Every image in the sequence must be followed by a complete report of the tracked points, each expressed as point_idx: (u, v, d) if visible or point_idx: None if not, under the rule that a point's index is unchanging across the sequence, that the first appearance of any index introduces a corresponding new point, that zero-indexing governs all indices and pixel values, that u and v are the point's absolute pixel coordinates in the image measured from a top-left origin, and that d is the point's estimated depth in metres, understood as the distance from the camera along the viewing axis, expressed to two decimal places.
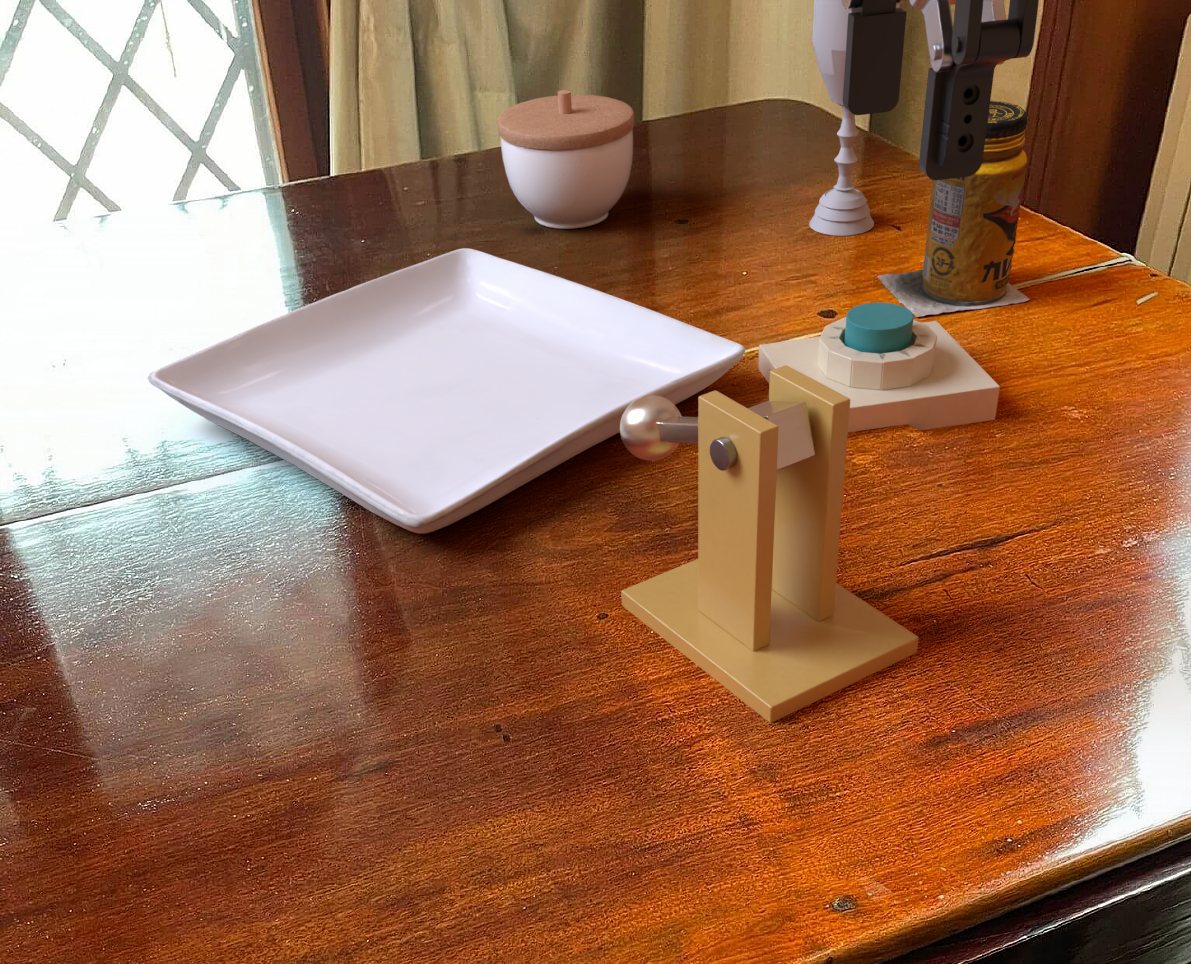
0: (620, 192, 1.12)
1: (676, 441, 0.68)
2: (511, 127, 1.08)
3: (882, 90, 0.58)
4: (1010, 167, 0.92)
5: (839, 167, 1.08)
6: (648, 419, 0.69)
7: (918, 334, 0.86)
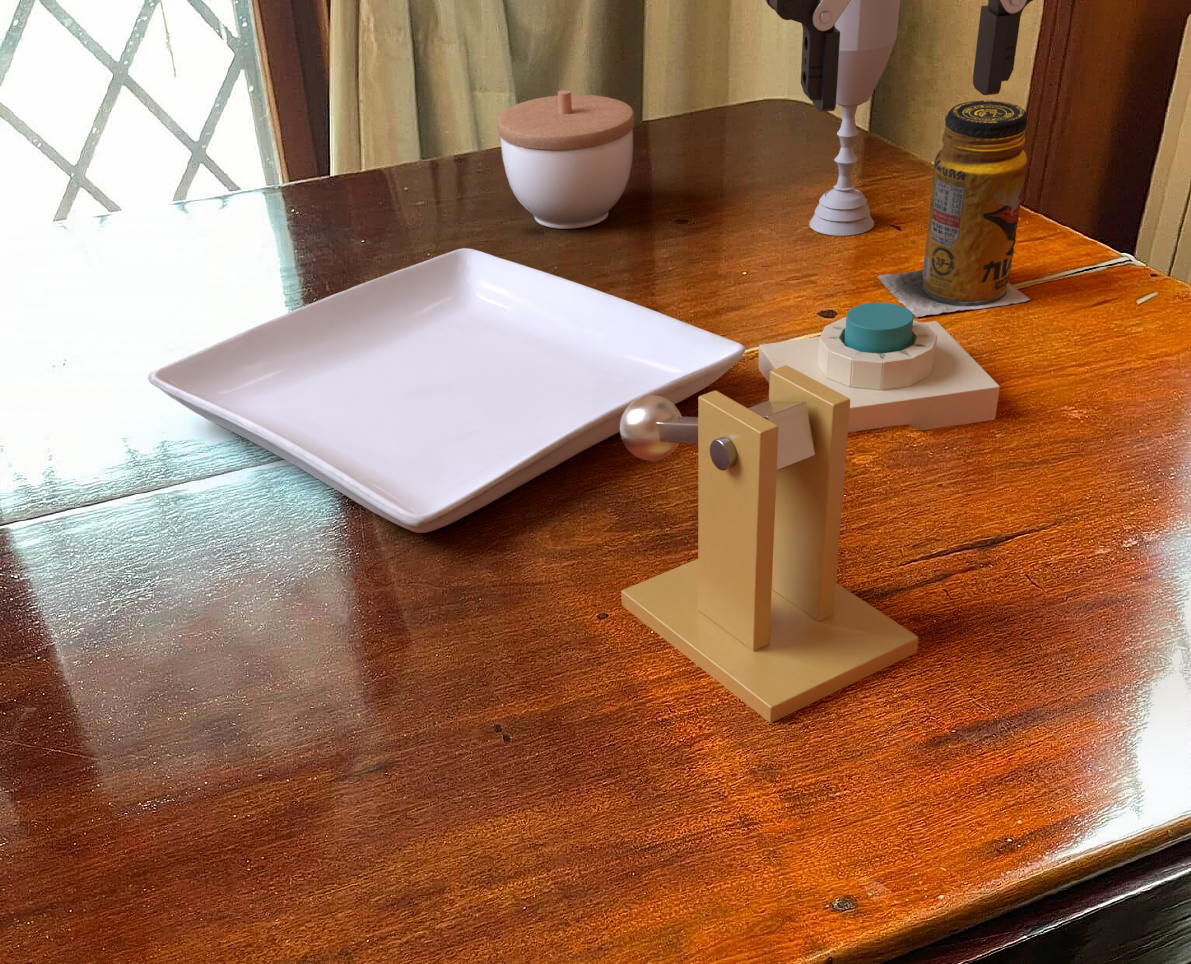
0: (620, 192, 1.12)
1: (676, 441, 0.68)
2: (511, 127, 1.08)
3: None
4: (1010, 167, 0.92)
5: (839, 167, 1.08)
6: (648, 419, 0.69)
7: (918, 334, 0.86)
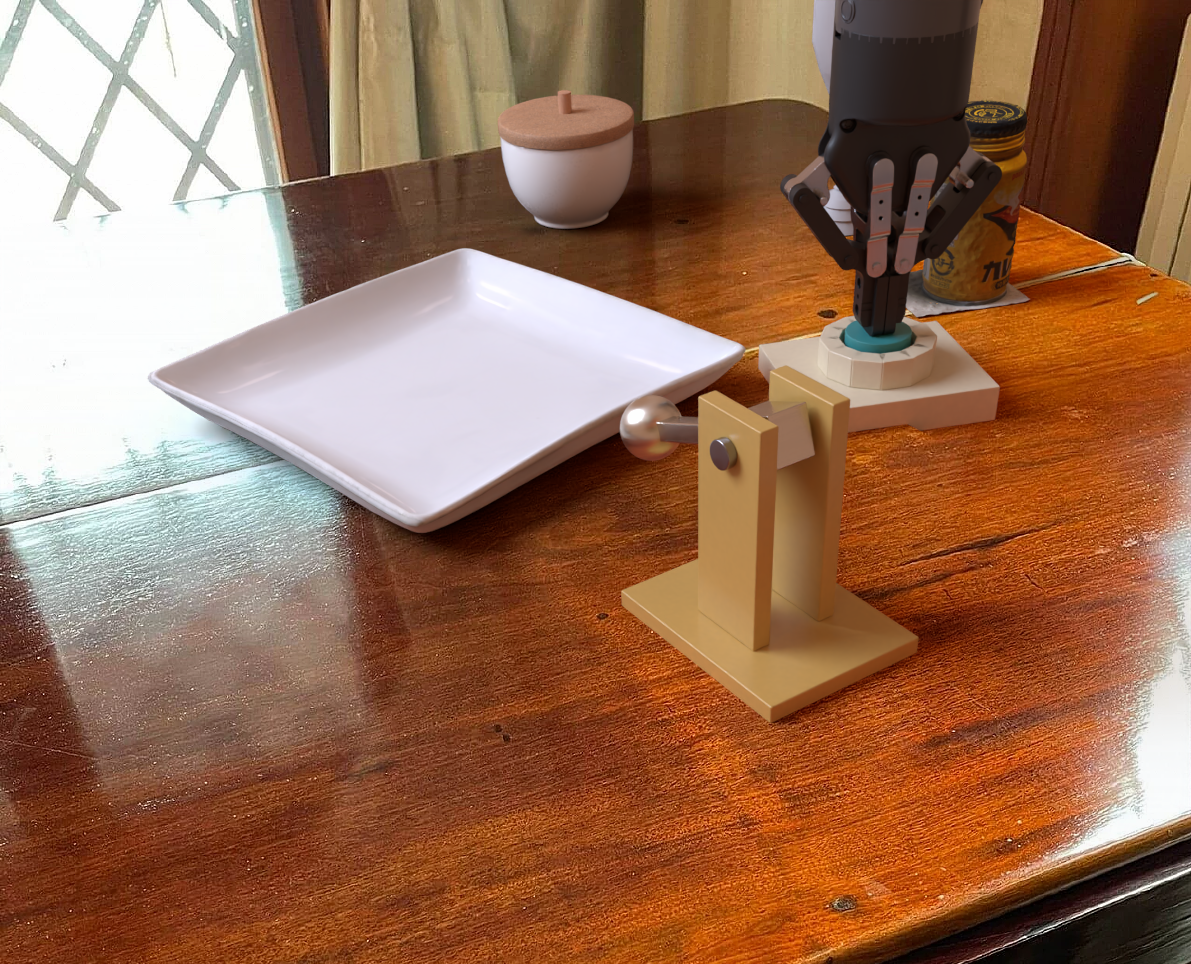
0: (620, 192, 1.12)
1: (676, 441, 0.68)
2: (511, 127, 1.08)
3: None
4: (1010, 167, 0.92)
5: None
6: (648, 419, 0.69)
7: (918, 334, 0.86)
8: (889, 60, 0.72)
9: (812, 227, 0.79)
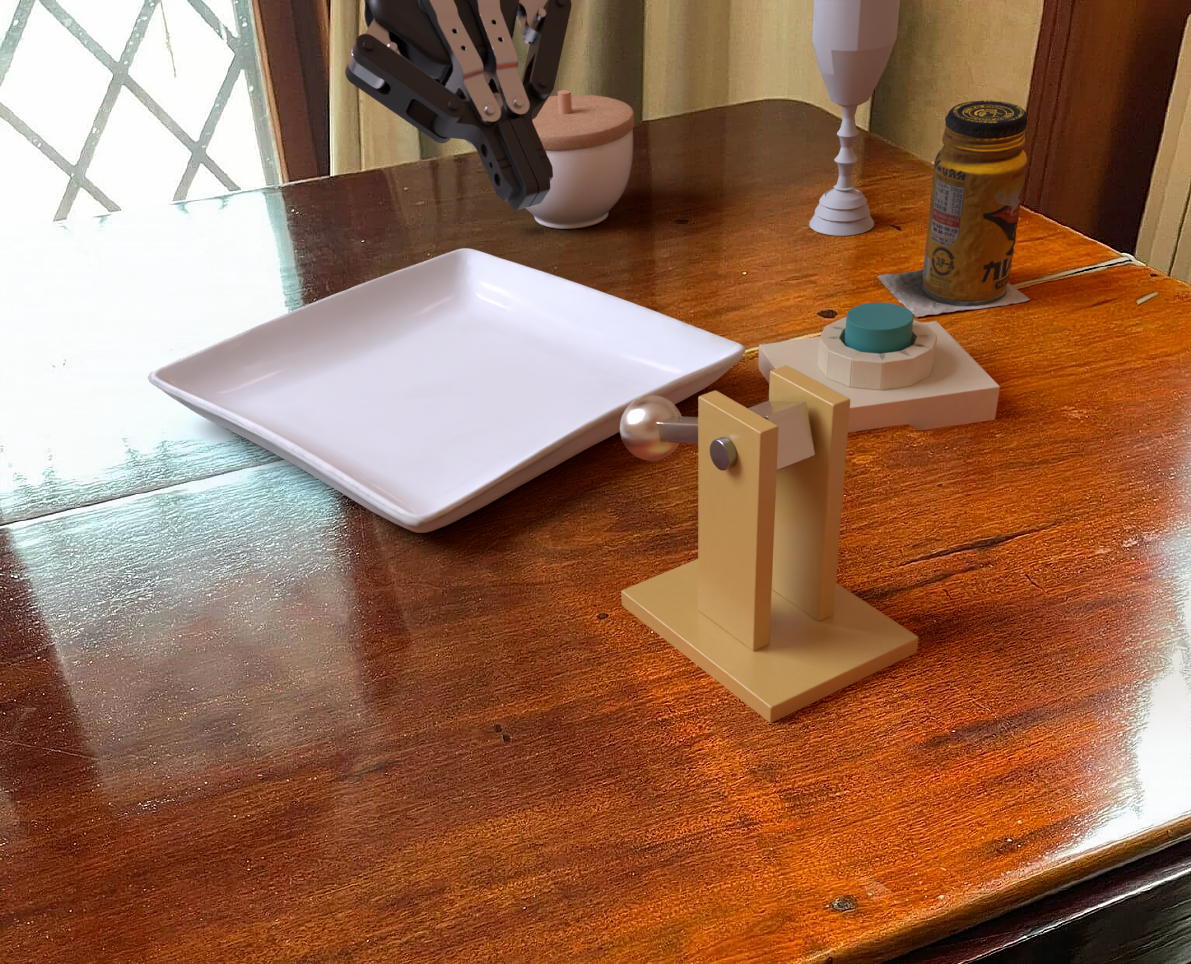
0: (620, 192, 1.12)
1: (676, 441, 0.68)
2: None
3: None
4: (1010, 167, 0.92)
5: (839, 167, 1.08)
6: (648, 419, 0.69)
7: (918, 334, 0.86)
8: None
9: (394, 75, 0.68)
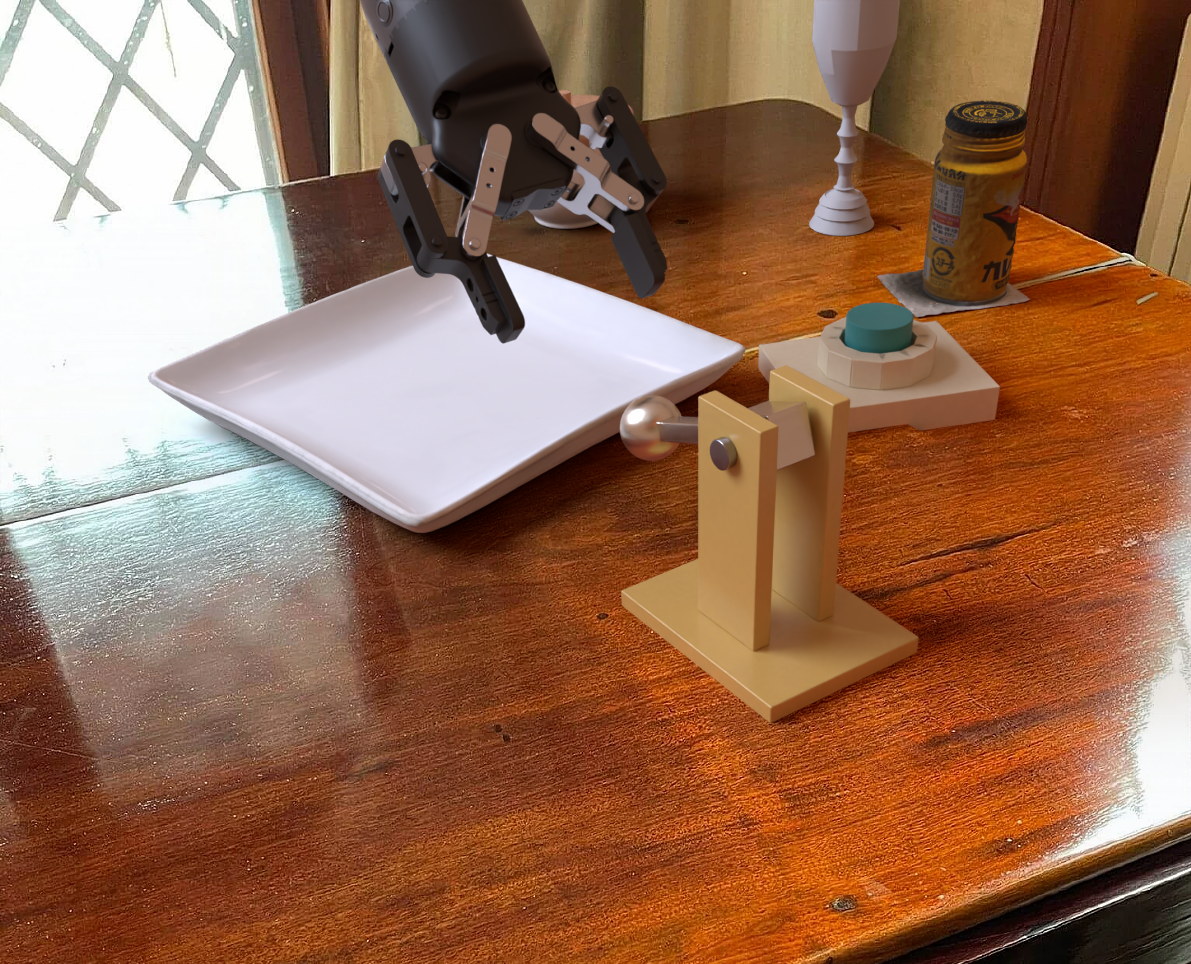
0: None
1: (676, 441, 0.68)
2: None
3: None
4: (1010, 167, 0.92)
5: (839, 167, 1.08)
6: (648, 419, 0.69)
7: (918, 334, 0.86)
8: (443, 14, 0.68)
9: (403, 184, 0.68)
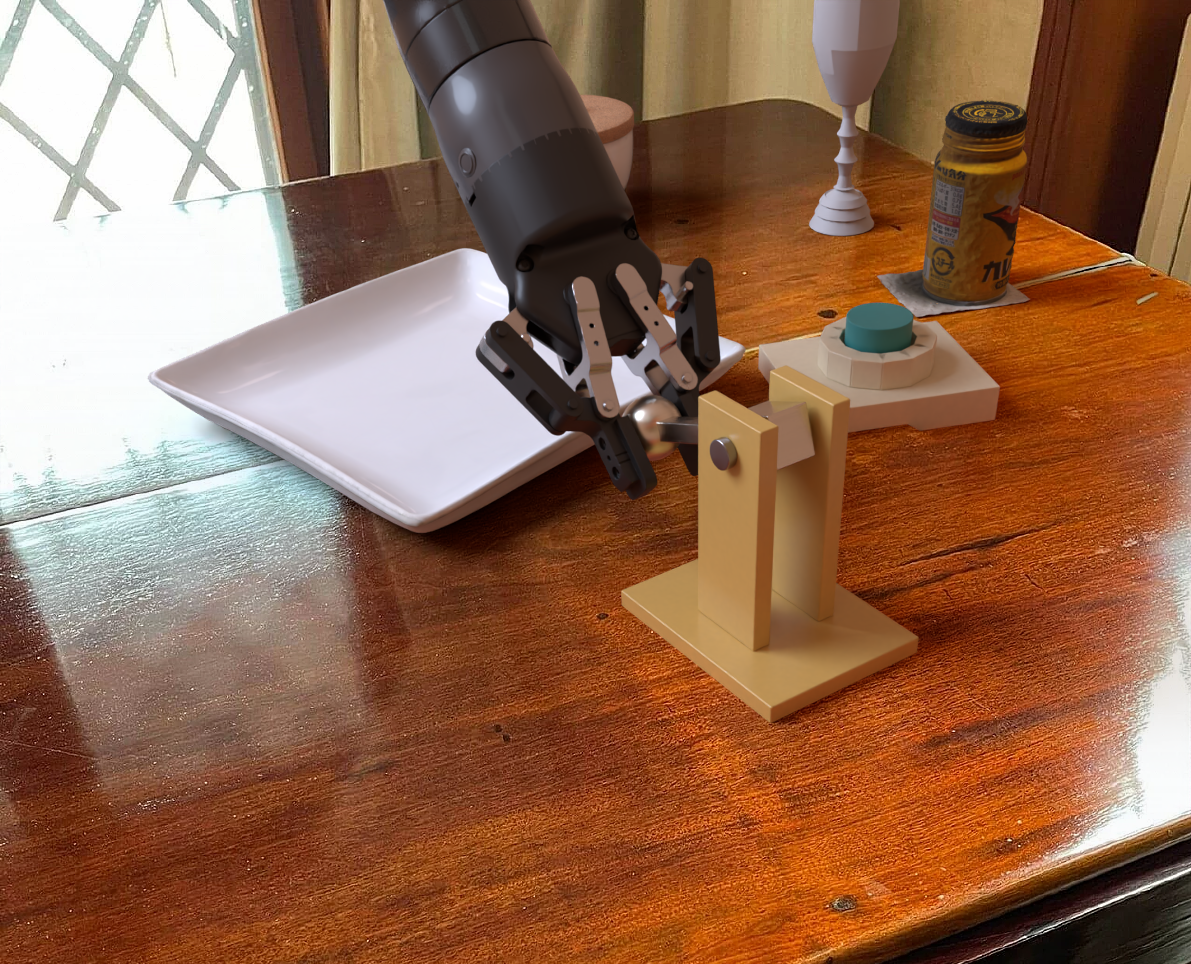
0: None
1: (676, 441, 0.68)
2: None
3: None
4: (1010, 167, 0.92)
5: (839, 167, 1.08)
6: (648, 419, 0.69)
7: (918, 334, 0.86)
8: (528, 168, 0.67)
9: (520, 364, 0.67)
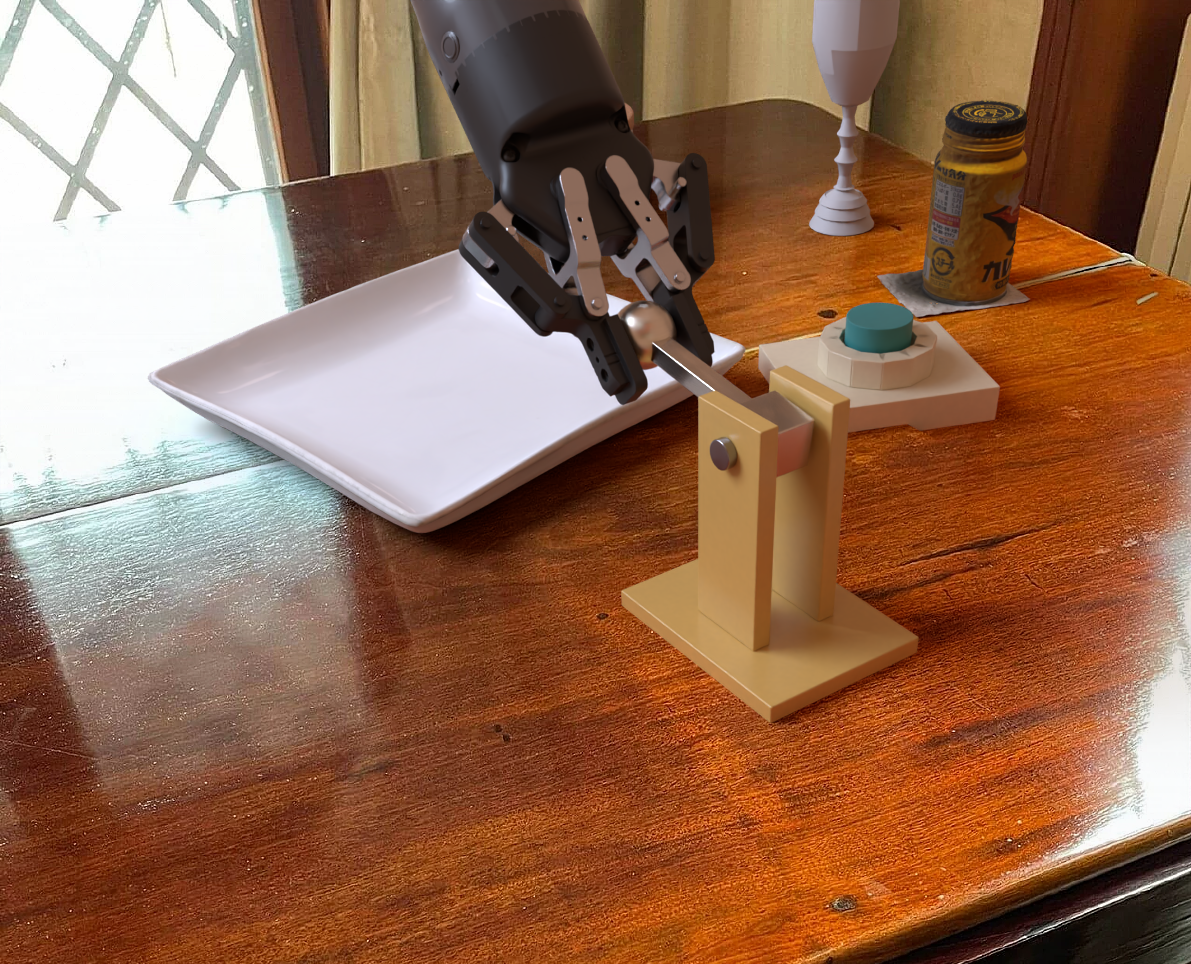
0: None
1: (668, 373, 0.66)
2: None
3: None
4: (1010, 167, 0.92)
5: (839, 167, 1.08)
6: (645, 337, 0.66)
7: (918, 334, 0.86)
8: (514, 51, 0.64)
9: (504, 258, 0.64)
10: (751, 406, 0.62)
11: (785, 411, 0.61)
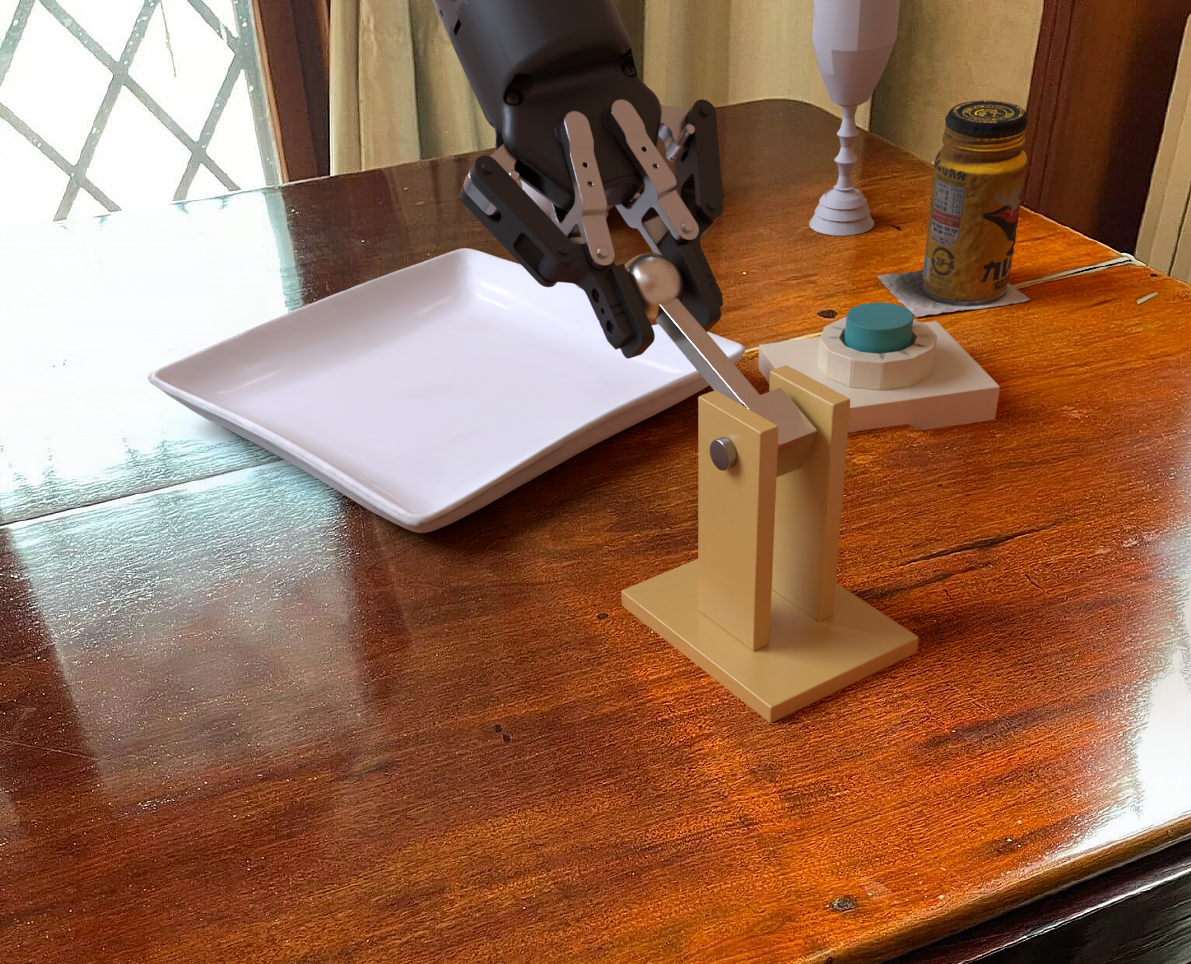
0: None
1: (672, 340, 0.65)
2: None
3: None
4: (1010, 167, 0.92)
5: (839, 167, 1.08)
6: (653, 298, 0.65)
7: (918, 334, 0.86)
8: None
9: (507, 203, 0.62)
10: (756, 406, 0.61)
11: (789, 416, 0.61)
